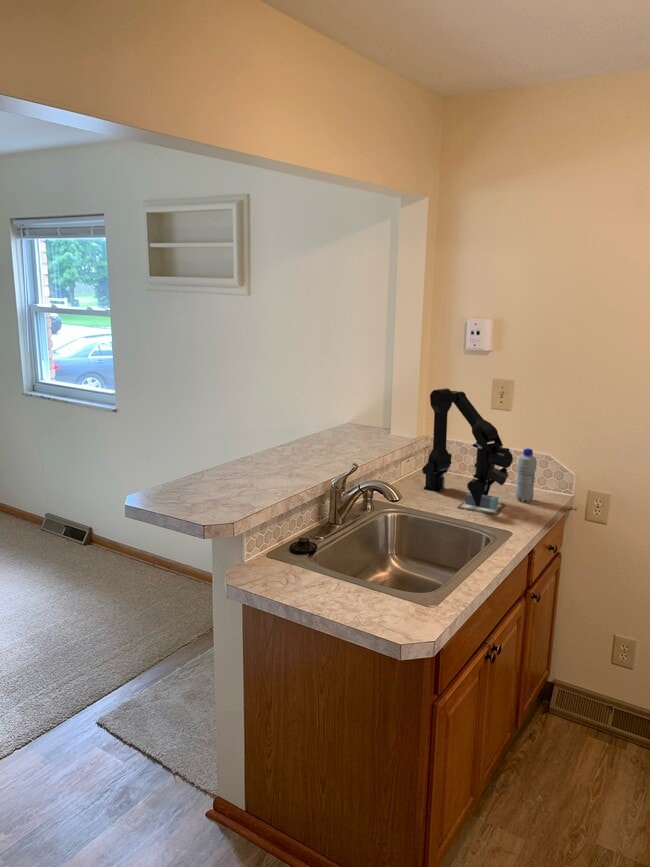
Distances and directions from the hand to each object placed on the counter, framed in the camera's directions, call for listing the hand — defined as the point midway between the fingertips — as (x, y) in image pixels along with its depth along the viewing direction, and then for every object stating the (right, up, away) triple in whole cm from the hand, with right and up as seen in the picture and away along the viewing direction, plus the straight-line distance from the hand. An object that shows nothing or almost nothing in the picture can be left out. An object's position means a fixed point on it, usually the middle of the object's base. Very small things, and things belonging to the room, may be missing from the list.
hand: (481, 502), depth 242 cm
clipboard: (0, -2, 0) cm, 2 cm away
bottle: (+18, 0, +8) cm, 19 cm away
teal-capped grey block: (0, -1, 0) cm, 1 cm away
